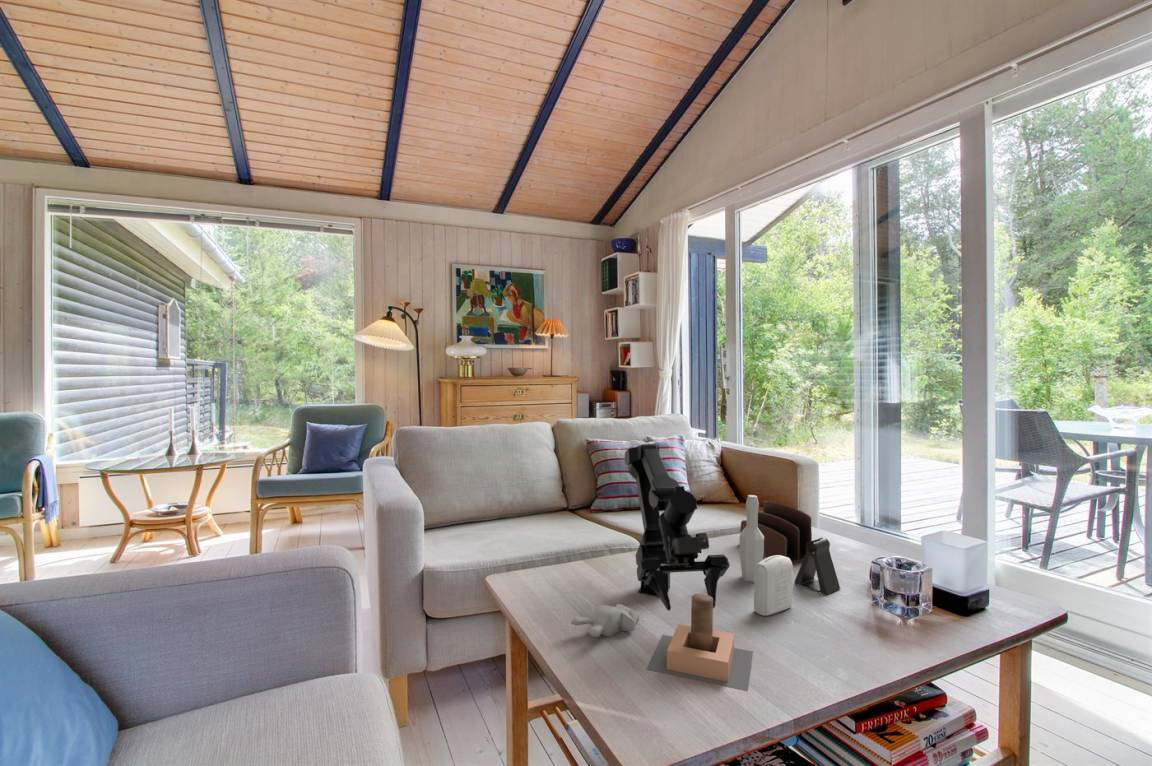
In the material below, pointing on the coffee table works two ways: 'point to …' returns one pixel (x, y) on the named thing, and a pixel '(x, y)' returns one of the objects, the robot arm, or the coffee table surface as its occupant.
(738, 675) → the mat
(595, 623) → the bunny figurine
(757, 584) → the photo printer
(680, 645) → the socket block
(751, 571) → the faceted bottle
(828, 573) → the phone stand
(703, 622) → the walnut peg
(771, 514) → the letter holder
